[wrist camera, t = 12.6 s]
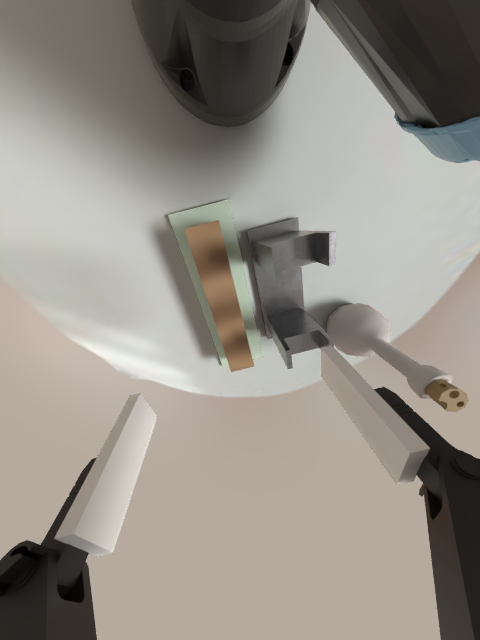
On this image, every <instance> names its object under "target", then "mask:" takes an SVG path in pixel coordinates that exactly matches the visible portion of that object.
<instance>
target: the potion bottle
mask: <svg viewBox="0 0 480 640" xmlns="http://www.w3.org/2000/svg"><path fill="white" fill-rule="evenodd" d="M326 328H327V333H328V334H329V335H330V336H331V337H332V338H333V339H334V345H335V346H336V347H337V349H338V350H340V351H342V352H344V353H345V354H347V355H353V356H363V357H370V356H372V355H374V354H378V355H379V356H380V357H381V358H383V359H384V360H385V361H387V362H388V363H389V364H391V365H392V366H393V367H394V368H395V369H397V370H398V371H399V372H401V373H402V374H403V375H404V376H406V377H407V381H408V384H409V385H410V387H411V388H412V389H413V391H414V392H415V393H416V394H417V395H418V396H419V397H420V398H432V399H433V400H434V401H436V402H437V403H438V404H439V405H441V406H442V407H443V408H444V409H445V410H446V411H452V412H457V411H459V410H461V409H463V408H465V406H466V404H467V402H468V398H467V394H466V393H465V392H463V391H462V390H460V389H459V388H457V387H455V386H453V385H452V384H451V383H452V379H453V377H452V376H450V375H449V374H447V373H445V372H443V371H441V370H439V369H437V368H435V367H433V366H428V365H421V364H419V363H418V362H416V361H414V360H413V359H412V358H410V357H409V356H407V355H406V354H404V353H403V352H401V351H399V350H398V349H396V348H395V347H394V346H392V345H391V344H389V341H390V340H391V327H390V324H389V322H388V320H387V319H386V318H385V317H384V316H383V315H382V314H381V313H380V312H378V311H377V310H375V309H373V308H372V307H370V306H369V305H364V304H359V303H357V304H352V303H351V304H347V305H343V306H339V307H338V308H337V309H336V310H334V311H333V312H332V313H331V314H330V315H329V316H328V321H327V325H326Z"/></svg>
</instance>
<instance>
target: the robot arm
mask: <svg viewBox="0 0 480 640" xmlns="http://www.w3.org/2000/svg"><path fill="white" fill-rule="evenodd" d="M311 2H312V4H313V5H314V7H315V8H316V11H317V12H318V13H319V14H320V16H321V17H322V18H323V20H324V21H325V22H326V23H327V25H328V26H329V27H330V29H331V30H332V31H333V32H334V34H335V35H336V36H337V38H338V39H339V40H340V41H341V43H342V44H343V45H344V47H345V48H346V49H347V50H348V52H349V53H350V54H351V56H352V57H353V58H354V59H355V61H356V62H357V63H358V64H359V66H360V67H361V68H362V70H363V71H364V72H365V73H366V75H367V76H368V77H369V79H370V80H371V81H372V82H373V84H374V85H375V86H376V88H377V89H378V90H379V91H380V93H381V94H382V95H383V97H384V98H385V99H386V100H387V102H388V103H389V104H390V106H391V107H392V108H393V109H394V111H395V116H394V117H395V119H396V121H397V123H398V124H399V125H400V126H401V127H402V128H403V130H405V131H407V132H409V133H412V134H414V135H415V136H416V137H417V138H418V139H419V140H420V141H421V142H422V143H423V144H424V145H425V146H426V147H427V148H428V149H429V151H430V152H431V153H432V154H434V155H435V156H436V157H438V158H441V159H442V160H446V161H449V162H455V163H463V162H469V161H473V160H477V161H480V0H132V4H133V8H134V11H135V15H136V18H137V21H138V24H139V27H140V30H141V32H142V35H143V38H144V40H145V43H146V45H147V48H148V50H149V53H150V55H151V58H152V60H153V62H154V64H155V66H156V68H157V70H158V72H159V74H160V76H161V78H162V79H163V81H164V83H165V84H166V86H167V87H168V88H169V90H170V91H171V93H172V94H173V95H174V96H175V98H176V99H177V100H178V101H179V102H180V103H181V104H182V105H183V106H184V107H185V108H186V109H187V110H189V111H190V112H191V113H193V114H194V115H195V116H197V117H198V118H200V119H202V120H204V121H206V122H209V123H211V124H215V125H219V126H237V125H241V124H244V123H247V122H249V121H251V120H253V119H255V118H256V117H258V116H259V115H261V114H262V113H263V112H264V111H265V110H266V109H267V108H268V107H269V106H270V105H271V104H272V103H273V102H274V100H275V99H276V98H277V96H278V95H279V93H280V92H281V90H282V88H283V86H284V84H285V82H286V80H287V78H288V76H289V74H290V72H291V70H292V67H293V65H294V63H295V60H296V58H297V55H298V53H299V50H300V47H301V44H302V40H303V37H304V33H305V29H306V25H307V21H308V16H309V10H310V3H311ZM321 376H322V378H323V379H324V381H325V382H326V383H327V385H328V386H329V388H330V389H331V391H332V392H333V393H334V395H335V396H336V398H337V399H338V401H339V402H340V404H341V405H342V407H343V408H344V410H345V411H346V412H347V414H348V415H349V417H350V418H351V420H352V421H353V423H354V424H355V425H356V427H357V428H358V430H359V431H360V433H361V434H362V436H363V437H364V438H365V440H366V441H367V443H368V444H369V446H370V447H371V449H372V450H373V451H374V453H375V454H376V456H377V457H378V459H379V460H380V462H381V463H382V465H383V466H384V467H385V469H386V470H387V472H388V473H389V475H390V476H391V477H392V479H393V480H394V482H395V483H396V485H399V484H403V483H407V482H411V481H414V479H415V477H416V475H417V476H418V477H419V478H420V479H421V481H422V482H423V485H422V487H421V488H420V491H419V495H421V496H423V495H424V498H425V506H426V515H427V524H428V532H429V541H430V549H431V557H432V567H433V575H434V584H435V593H436V601H437V610H438V618H439V627H440V635H441V640H480V459H477V458H475V457H473V456H472V455H469V454H467V453H465V452H463V451H460V450H457V449H456V448H454V447H453V446H452V445H450V444H449V443H448V442H447V441H446V440H445V439H444V438H442V437H441V436H440V435H439V434H438V433H437V432H436V431H435V430H434V429H433V428H432V427H431V426H430V425H429V424H428V423H426V422H425V421H424V420H423V419H422V418H421V417H420V416H419V415H418V414H417V413H416V412H414V411H413V409H412V408H410V407H409V406H408V405H406V403H405V402H404V401H403V400H402V399H401V398H400V397H399V396H398V395H397V394H395V393H394V392H392V391H390V390H388V389H387V388H385V387H382V388H377V389H373V388H372V387H371V386H370V385H369V384H368V383H367V382H366V381H365V380H364V379H363V378H362V377H361V376H360V375H359V374H358V372H357V371H356V370H355V369H354V368H353V367H352V366H351V365H350V364H349V363H348V362H347V361H346V360H345V359H344V358H343V357H342V356H341V355H340V354H339V353H338V352H337V350H336V349H335V348H334V347H333V346H332V345H331V346H327V347H323V348H321ZM156 419H157V416H156V414H155V413H154V412H153V410H152V409H151V407H150V406H149V405H148V403H147V402H146V401H145V399H144V398H143V396H142V395H141V393H139V394H135V395H131V396H129V398H128V400H127V402H126V404H125V406H124V408H123V410H122V412H121V413H120V415H119V417H118V419H117V421H116V423H115V425H114V427H113V429H112V430H111V432H110V434H109V436H108V438H107V440H106V442H105V444H104V445H103V447H102V449H101V451H100V453H99V455H98V457H97V458H94V459H92V460H91V461H90V462H89V464H88V465H87V466H86V467H85V468H84V470H83V471H82V473H81V474H80V476H79V478H78V480H77V482H76V485H75V486H74V487H73V489H72V491H71V492H70V495H69V497H68V498H67V499H66V501H65V503H64V505H63V506H62V508H61V510H60V512H59V514H58V515H57V517H56V519H55V521H54V523H53V525H52V526H51V528H50V530H49V531H48V533H47V535H46V537H45V539H44V540H43V542H42V543H41V545H39V544H36V543H34V542H31V541H24V542H21V543H19V544H18V545H17V546H15V547H14V548H12V549H11V550H10V551H9V552H8V553H7V554H6V555H5V556H4V557H3V558H2V559H1V560H0V640H97V637H96V628H95V620H94V611H93V603H92V594H91V586H90V577H89V568H88V565H87V563H86V562H85V561H86V558H87V556H88V554H92V555H94V556H101V555H105V554H109V553H113V550H114V548H115V544H116V541H117V538H118V535H119V532H120V529H121V525H122V523H123V520H124V517H125V514H126V511H127V508H128V505H129V502H130V498H131V496H132V492H133V489H134V486H135V483H136V480H137V477H138V474H139V471H140V468H141V465H142V461H143V459H144V456H145V453H146V450H147V446H148V443H149V440H150V437H151V434H152V431H153V428H154V425H155V422H156Z"/></svg>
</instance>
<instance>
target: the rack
mask: <svg viewBox="0 0 480 640" xmlns="http://www.w3.org/2000/svg"><path fill="white" fill-rule="evenodd" d="M247 235H248V240H249V246H250V251H251V256H252V261H253V267H254V272H255V277H256V283H257V288H258V293H259V298H260V304H261V309H262V314H263V320H264V325H265V330H266V335H267V338H268V339H270V338H273V340H274V342H275V344H276V346H277V348H278V350H279V352H280V354H281V356H282V358H283V360H284V362H285V364H286V366H287V368H288V369H291V368H293V367H292V359H291V355H292V354H296V353H300V352H304V351H308V350H312V349H316V348H320V349H321V348H323V347H327V346H331V345H332V346H333V347H334V339H333V338H332V337H331V336H330V335H329V334H328V333H327V332H326V331H325V330H324V329H323V328H322V327H321V326H320V325H319V324H318V323H316V322H315V321H314V320H313V319H312V318H311V317H310V316H309V315H308V314H307V313H306V312H305V311H304V300H303V285H302V270H301V266H303V265H307V264H311V263H315V262H319V263H322V264H325V265H328V266H331V265H335V249H336V231H299V226H298V218H293V219H289V220H285V221H281V222H278V223H274V224H270V225H266V226H262V227H258V228H254V229H251V230H247Z"/></svg>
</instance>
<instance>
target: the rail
mask: <svg viewBox="0 0 480 640" xmlns="http://www.w3.org/2000/svg"><path fill="white" fill-rule="evenodd" d="M184 230H185V233H186V236H187V239H188V242H189V245H190V249H191V252H192V255H193V258H194V261H195V264H196V267H197V270H198V273H199V276H200V279H201V282H202V285H203V288H204V291H205V294H206V297H207V300H208V303H209V306H210V309H211V312H212V315H213V318H214V321H215V324H216V328H217V331H218V334H219V337H220V340H221V343H222V346H223V349H224V352H225V355H226V358H227V361H228V364H229V367H230V370H231V372H233V371H237V370H241V369H245V368H249V367H253V366H254V363H253V359H252V355H251V351H250V347H249V343H248V339H247V334H246V330H245V326H244V322H243V318H242V314H241V310H240V306H239V302H238V297H237V293H236V289H235V285H234V281H233V277H232V273H231V269H230V265H229V260H228V256H227V252H226V248H225V244H224V240H223V236H222V232H221V228H220V223H219V220H217V221H213V222H209V223H205V224H201V225H197V226H193V227H189V228H185V229H184Z"/></svg>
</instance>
